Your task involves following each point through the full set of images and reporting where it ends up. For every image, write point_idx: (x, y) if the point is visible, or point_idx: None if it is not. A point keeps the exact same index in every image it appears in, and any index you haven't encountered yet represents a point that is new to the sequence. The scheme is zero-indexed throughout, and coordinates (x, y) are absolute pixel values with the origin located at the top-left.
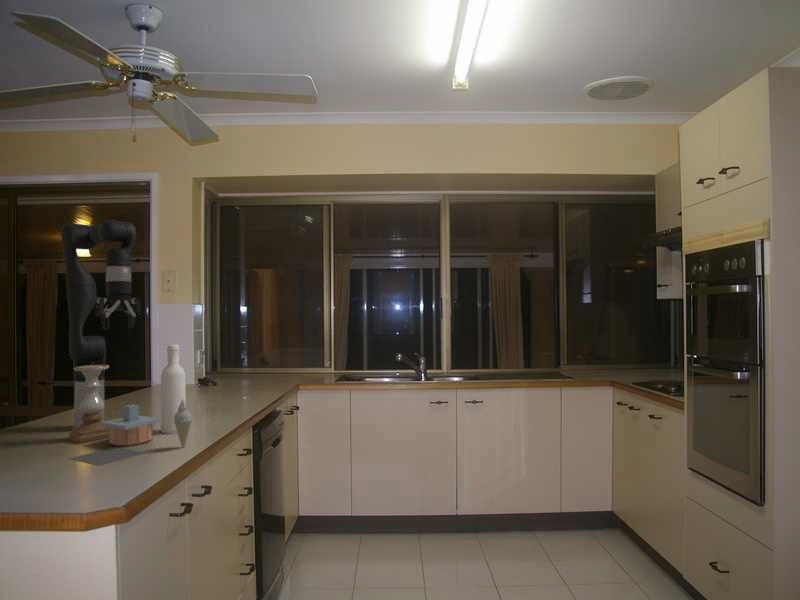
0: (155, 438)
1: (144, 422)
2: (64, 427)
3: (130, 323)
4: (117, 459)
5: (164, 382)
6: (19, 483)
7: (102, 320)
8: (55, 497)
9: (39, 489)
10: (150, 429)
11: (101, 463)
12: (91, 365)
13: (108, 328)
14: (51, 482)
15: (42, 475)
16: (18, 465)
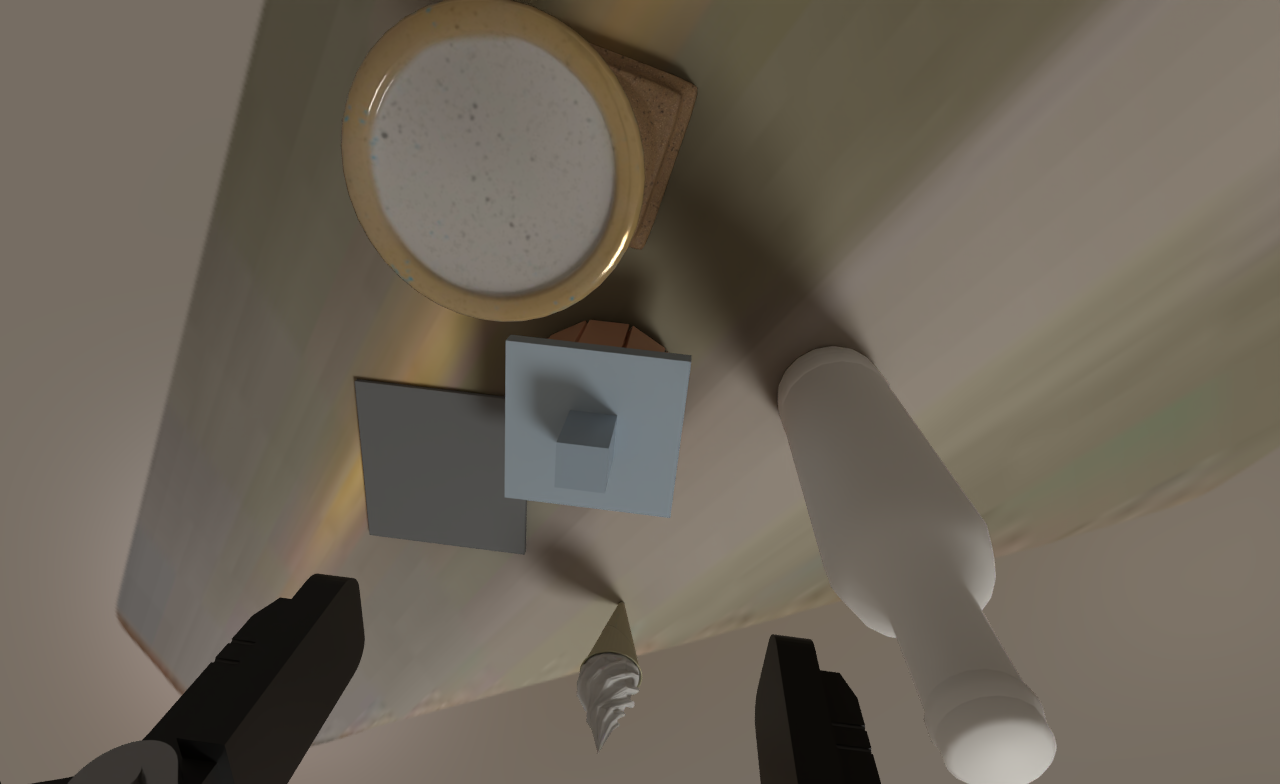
0: (698, 419)
1: (593, 506)
2: None
3: (768, 758)
4: (433, 533)
5: (817, 528)
6: (181, 465)
7: (177, 721)
8: (206, 623)
9: (200, 550)
10: None
11: (385, 523)
12: (556, 54)
13: (347, 660)
14: (237, 530)
15: (244, 456)
16: (232, 279)
